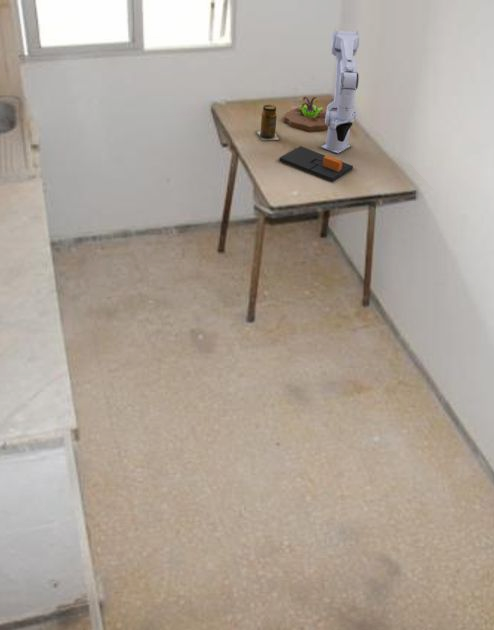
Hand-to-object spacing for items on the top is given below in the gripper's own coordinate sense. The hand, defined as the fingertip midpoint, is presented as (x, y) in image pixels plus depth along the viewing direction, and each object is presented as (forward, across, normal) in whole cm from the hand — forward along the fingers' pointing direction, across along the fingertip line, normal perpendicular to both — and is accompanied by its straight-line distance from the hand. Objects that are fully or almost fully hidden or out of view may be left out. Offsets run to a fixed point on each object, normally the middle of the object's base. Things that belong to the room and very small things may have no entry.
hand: (340, 140), depth 270 cm
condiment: (+10, +2, +35) cm, 37 cm away
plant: (+10, +26, +32) cm, 42 cm away
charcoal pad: (+10, -6, 0) cm, 12 cm away
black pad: (+10, -6, +11) cm, 16 cm away
